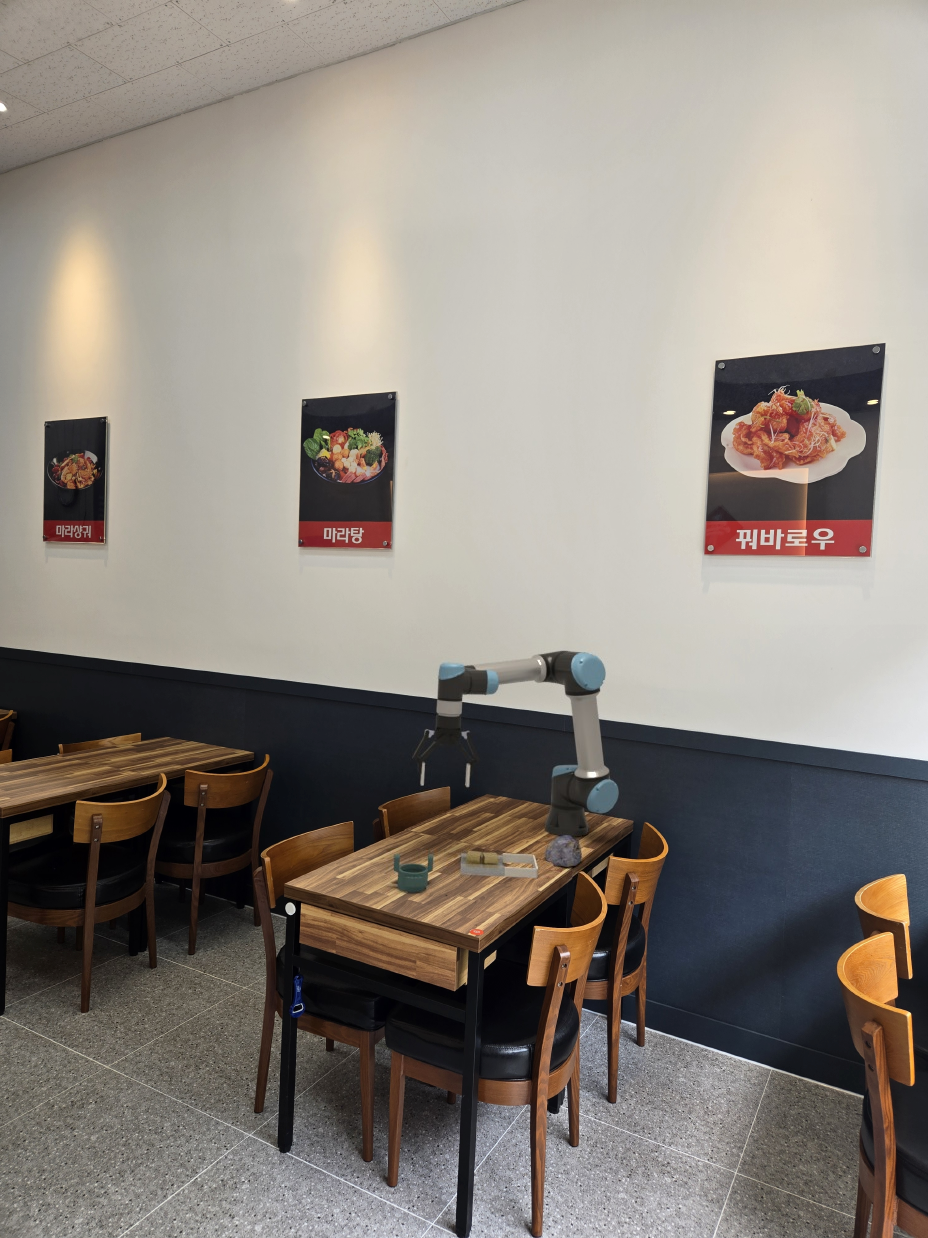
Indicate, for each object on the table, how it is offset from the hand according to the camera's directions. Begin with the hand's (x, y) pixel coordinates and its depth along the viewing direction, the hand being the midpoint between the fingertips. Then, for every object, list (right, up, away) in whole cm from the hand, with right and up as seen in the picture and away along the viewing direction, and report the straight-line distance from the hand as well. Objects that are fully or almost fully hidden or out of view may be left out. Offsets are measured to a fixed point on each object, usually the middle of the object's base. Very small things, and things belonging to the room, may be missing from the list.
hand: (444, 785), depth 234 cm
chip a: (+13, -23, -6) cm, 27 cm away
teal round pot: (-8, -24, -21) cm, 33 cm away
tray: (+22, -24, -6) cm, 33 cm away
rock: (+36, -25, +5) cm, 44 cm away
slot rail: (+11, -24, -6) cm, 27 cm away
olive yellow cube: (+9, -23, -5) cm, 25 cm away
